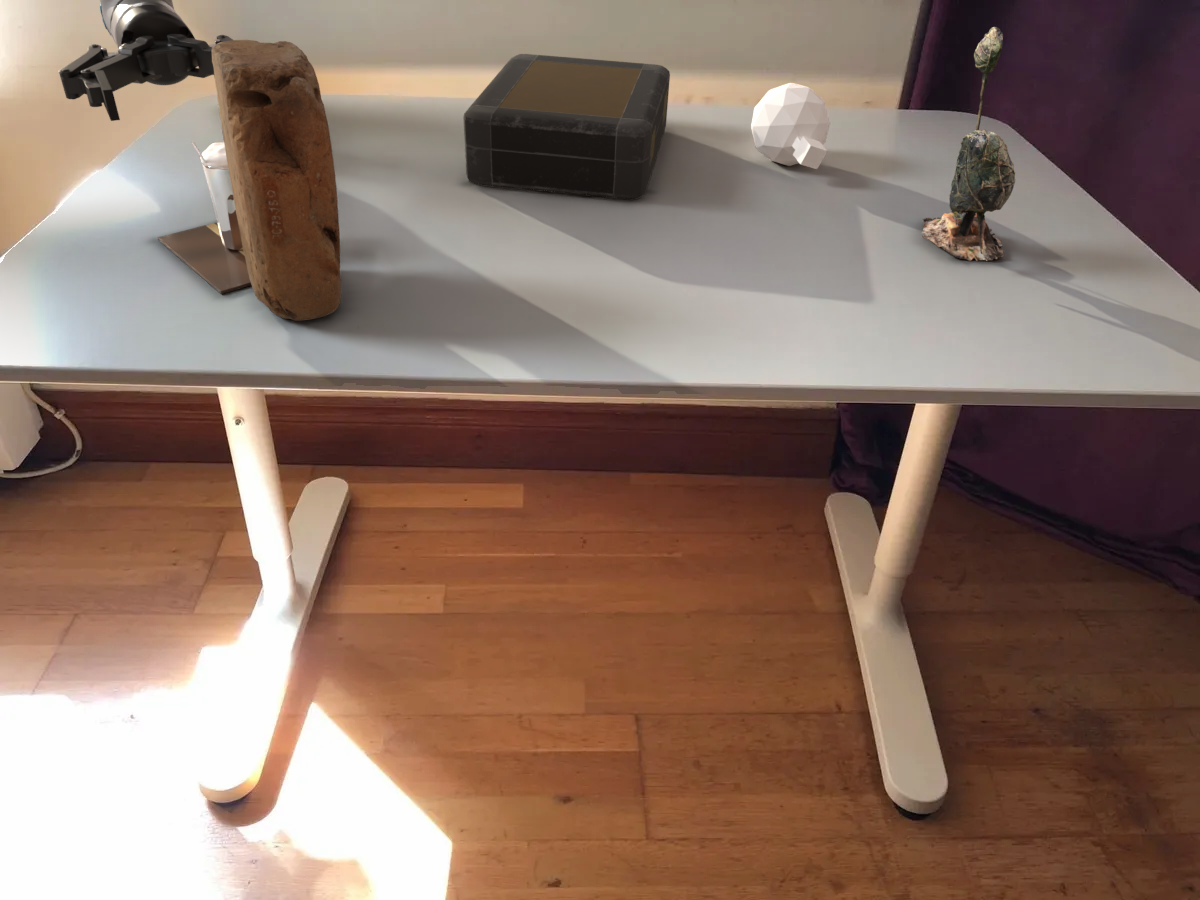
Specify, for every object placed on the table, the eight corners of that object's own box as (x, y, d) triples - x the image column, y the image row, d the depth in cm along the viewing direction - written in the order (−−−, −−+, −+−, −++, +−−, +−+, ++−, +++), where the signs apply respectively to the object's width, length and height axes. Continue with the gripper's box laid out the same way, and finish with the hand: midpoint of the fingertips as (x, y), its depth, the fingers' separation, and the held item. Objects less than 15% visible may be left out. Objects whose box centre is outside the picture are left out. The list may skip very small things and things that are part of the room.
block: (245, 272, 84) (200, 33, 71) (331, 260, 87) (302, 28, 74) (264, 334, 76) (218, 80, 64) (358, 319, 79) (331, 72, 67)
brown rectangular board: (158, 240, 89) (157, 236, 89) (258, 214, 95) (257, 210, 95) (221, 294, 81) (220, 290, 81) (326, 262, 87) (326, 258, 87)
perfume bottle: (727, 133, 114) (762, 183, 106) (763, 59, 108) (803, 106, 100) (787, 151, 117) (825, 200, 109) (824, 80, 112) (868, 127, 104)
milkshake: (197, 244, 88) (177, 135, 82) (248, 229, 91) (233, 124, 85) (225, 260, 85) (207, 149, 80) (276, 244, 89) (263, 137, 83)
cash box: (509, 113, 122) (508, 50, 118) (666, 127, 120) (671, 63, 116) (456, 186, 103) (452, 113, 98) (644, 204, 101) (649, 131, 96)
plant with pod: (917, 264, 92) (974, 45, 79) (920, 219, 100) (972, 15, 88) (1005, 278, 90) (1078, 56, 78) (1000, 231, 99) (1065, 25, 87)
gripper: (276, 66, 110) (329, 122, 96) (36, 88, 100) (54, 154, 86) (266, -5, 106) (319, 43, 91) (13, 11, 96) (27, 67, 81)
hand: (191, 97), depth 88 cm, fingers open, 13 cm apart
